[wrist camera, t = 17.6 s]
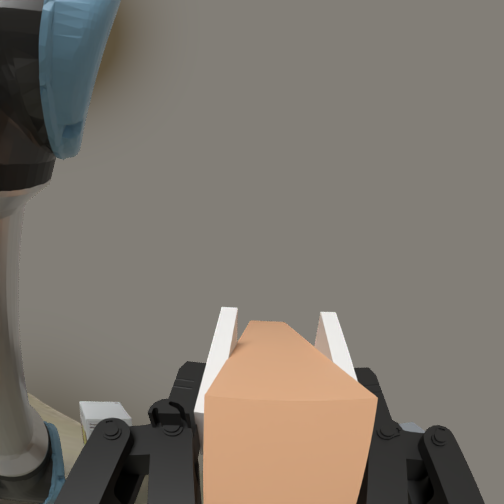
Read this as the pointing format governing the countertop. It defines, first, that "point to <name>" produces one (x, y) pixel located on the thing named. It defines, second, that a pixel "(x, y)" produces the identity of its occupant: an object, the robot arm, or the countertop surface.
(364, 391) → the rod
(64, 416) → the countertop surface
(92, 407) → the supplement box
